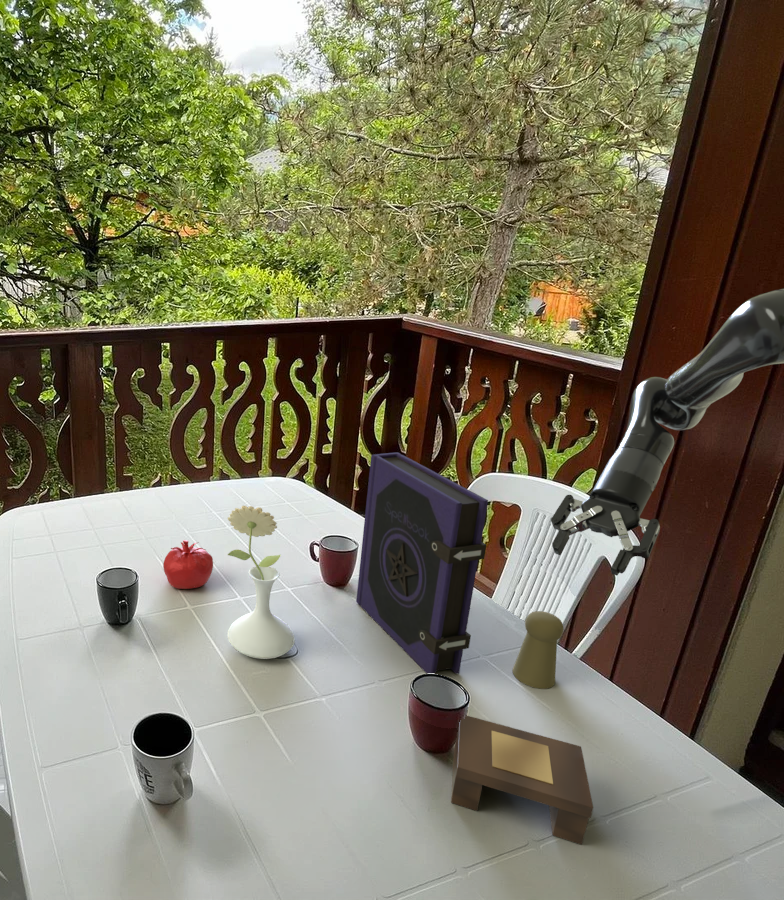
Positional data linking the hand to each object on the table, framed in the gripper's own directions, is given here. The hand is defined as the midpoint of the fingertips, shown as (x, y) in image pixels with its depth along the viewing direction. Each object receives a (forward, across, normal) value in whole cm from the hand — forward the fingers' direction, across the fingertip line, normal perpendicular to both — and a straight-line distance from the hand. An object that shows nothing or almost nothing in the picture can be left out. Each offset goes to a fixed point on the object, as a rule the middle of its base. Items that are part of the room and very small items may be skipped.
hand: (584, 562), depth 103 cm
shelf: (+38, +9, -15) cm, 42 cm away
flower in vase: (+40, -33, -17) cm, 55 cm away
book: (+25, -19, -1) cm, 31 cm away
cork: (+20, 0, +4) cm, 20 cm away
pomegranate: (+38, -57, -14) cm, 70 cm away
